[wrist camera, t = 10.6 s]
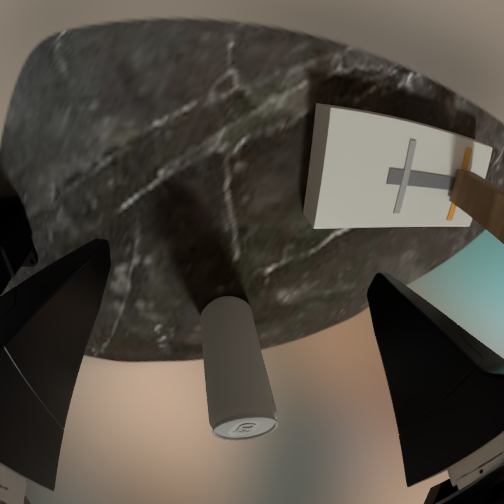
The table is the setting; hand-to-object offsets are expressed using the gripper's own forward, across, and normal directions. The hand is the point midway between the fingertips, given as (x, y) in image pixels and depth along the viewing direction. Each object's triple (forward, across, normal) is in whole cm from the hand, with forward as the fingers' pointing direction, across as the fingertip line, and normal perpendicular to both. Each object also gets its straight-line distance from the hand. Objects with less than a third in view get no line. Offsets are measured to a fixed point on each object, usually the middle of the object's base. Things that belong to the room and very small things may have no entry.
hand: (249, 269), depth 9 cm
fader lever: (+11, -19, -3) cm, 23 cm away
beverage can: (+12, -1, +14) cm, 19 cm away
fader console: (+14, -14, -2) cm, 20 cm away
